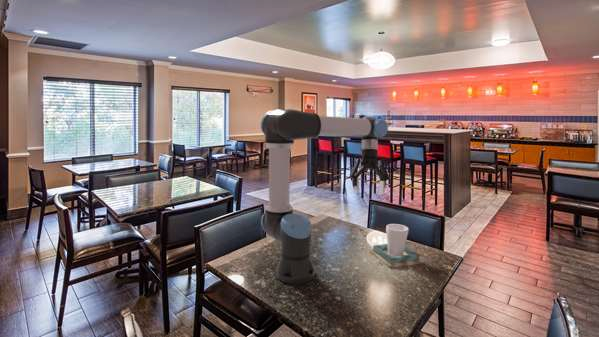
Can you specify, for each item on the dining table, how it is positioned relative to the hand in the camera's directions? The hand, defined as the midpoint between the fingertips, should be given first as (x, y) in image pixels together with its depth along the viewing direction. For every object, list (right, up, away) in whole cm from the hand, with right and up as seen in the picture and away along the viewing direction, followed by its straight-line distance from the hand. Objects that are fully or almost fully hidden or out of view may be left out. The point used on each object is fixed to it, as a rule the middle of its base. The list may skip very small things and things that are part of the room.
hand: (369, 194), depth 154 cm
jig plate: (+10, -28, -6) cm, 30 cm away
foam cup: (+10, -27, -6) cm, 30 cm away
